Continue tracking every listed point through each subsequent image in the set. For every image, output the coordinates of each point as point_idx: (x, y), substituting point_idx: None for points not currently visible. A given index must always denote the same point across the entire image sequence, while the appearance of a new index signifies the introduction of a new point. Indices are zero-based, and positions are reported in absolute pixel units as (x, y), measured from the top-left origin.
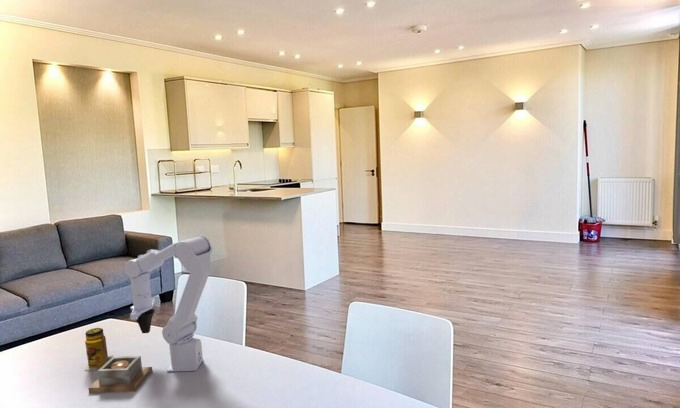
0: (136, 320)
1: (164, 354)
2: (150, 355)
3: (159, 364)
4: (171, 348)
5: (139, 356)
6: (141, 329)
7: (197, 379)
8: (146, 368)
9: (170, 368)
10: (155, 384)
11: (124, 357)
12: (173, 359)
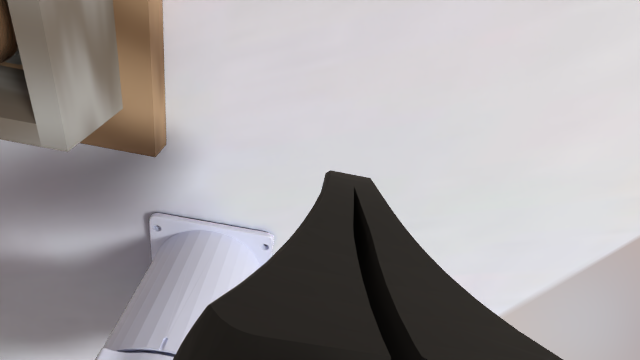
0: (254, 276)
1: (374, 170)
2: (391, 92)
3: (246, 164)
4: (114, 332)
5: (56, 145)
6: (321, 196)
7: (93, 310)
8: (135, 131)
9: (169, 228)
10: (31, 180)
11: (22, 18)
12: (142, 280)
